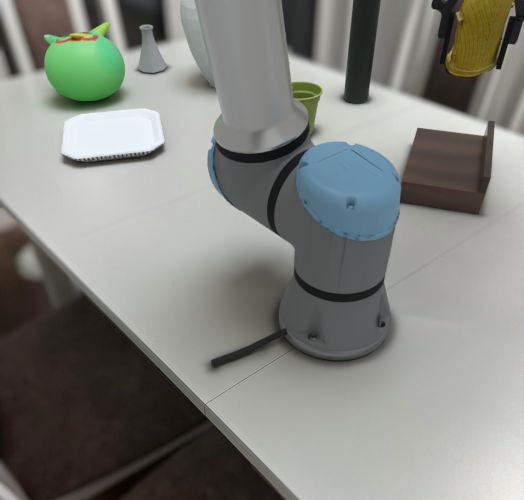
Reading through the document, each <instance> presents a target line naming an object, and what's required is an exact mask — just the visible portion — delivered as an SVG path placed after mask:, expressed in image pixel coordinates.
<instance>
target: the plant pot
mask: <svg viewBox="0 0 524 500" xmlns="http://www.w3.org/2000/svg"><path fill="white" fill-rule="evenodd" d="M291 82H292V90H293V98H295V99H296V100H298V101H300V102H301V103H302V104H303V105H304V106H305V107H306V109H307V111H308V116H309V126H310V135H312V134H313V132H314V128H315V124H316V123H315V122H316V116H317V112H318V106H319V102H320V100H321V96H322V95H323V94H324V89H323V87H322V86H321V85H320V84H318V83H315V82H311V81H303V80H302V81H301V80H300V81H299V80H298V81H291Z"/></svg>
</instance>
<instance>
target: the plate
mask: <svg viewBox="0 0 524 500" xmlns="http://www.w3.org/2000/svg"><path fill="white" fill-rule="evenodd" d="M165 144H166V143H165V137H164V131H163V125H162V119H161V114H160V113H159V112H158V111H155V110H152V109H149V108H146V107H140V108H129V109H120V110H109V111H100V112H89V113H79V114H77V115H75V116H73V117H71V118H68V119H67V120H65V121H64V122H63V129H62V138H61V147H60V154H61V156H62V157H65V158H68V159H71V160H74V161H76V162H77V161H79V162H82V163H83V162H84V163H93V162H95V163H96V162H103V161H111V160H120V159H130V158H139V157H145V156H146V155H148V154H150V153H153V152H154V151H156V150H157V149H159V148H161V147H163V146H164V145H165Z"/></svg>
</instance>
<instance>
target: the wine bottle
mask: <svg viewBox="0 0 524 500" xmlns="http://www.w3.org/2000/svg"><path fill="white" fill-rule="evenodd" d="M381 2H382V0H352V8H351V17H350V18H351V19H350V28H349V38H348V39H349V40H348V49H347V59H346V69H345V80H344V89H343V90H344V91H343V100H344V101H345V102H347V103H350V104H363V103H366V102H367V101H368V100H369V96H370V95H369V94H370V87H371V78H372V71H373V63H374V57H375V49H376V41H377V40H376V39H377V32H378V27H379V26H378V25H379V18H380V11H381V4H382V3H381Z"/></svg>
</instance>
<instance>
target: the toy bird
mask: <svg viewBox="0 0 524 500" xmlns="http://www.w3.org/2000/svg"><path fill="white" fill-rule="evenodd" d="M111 25H112V24H111V22H110V21H106V22H103V23H101V24H99V25H98V26H96V27H95V28H93V29H91V30H90V31H81V32H72V33H71V32H70V33H67V34H64V35H62V36H60V37H59V36H56V35H53V34H44V35H43V38H44V40H45V41H46V43H48V45H49V46H48V47H47V50H46V52H45V55H44V60H43V61H44V62H43V66H44V67H43V68H44V73H45V75H46V76H45V77H46V78H47V80H48V82H49V84H50V85H51V87H53V89H54V90H55V91H56V92H57V93H59V94H60V95H62V96H63V97H65V98H67V99H70V100H73V101H77V102H97V101H101V100H103V99H106V98H109V97H110V96H112V95H114V94H115V93H116V92H118V90H119V89H120V88H121V87H122V85H123V83H124V80H125V75H126V64H125V59H124V57H123V55H122V53H121V51H120V49H119V48H118V46H116V44H115V43H114V42H113V41H111V40H110V39H108V38H107V37H105V36H106V34H107V32H108V30H109V29H110V27H111Z"/></svg>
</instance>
